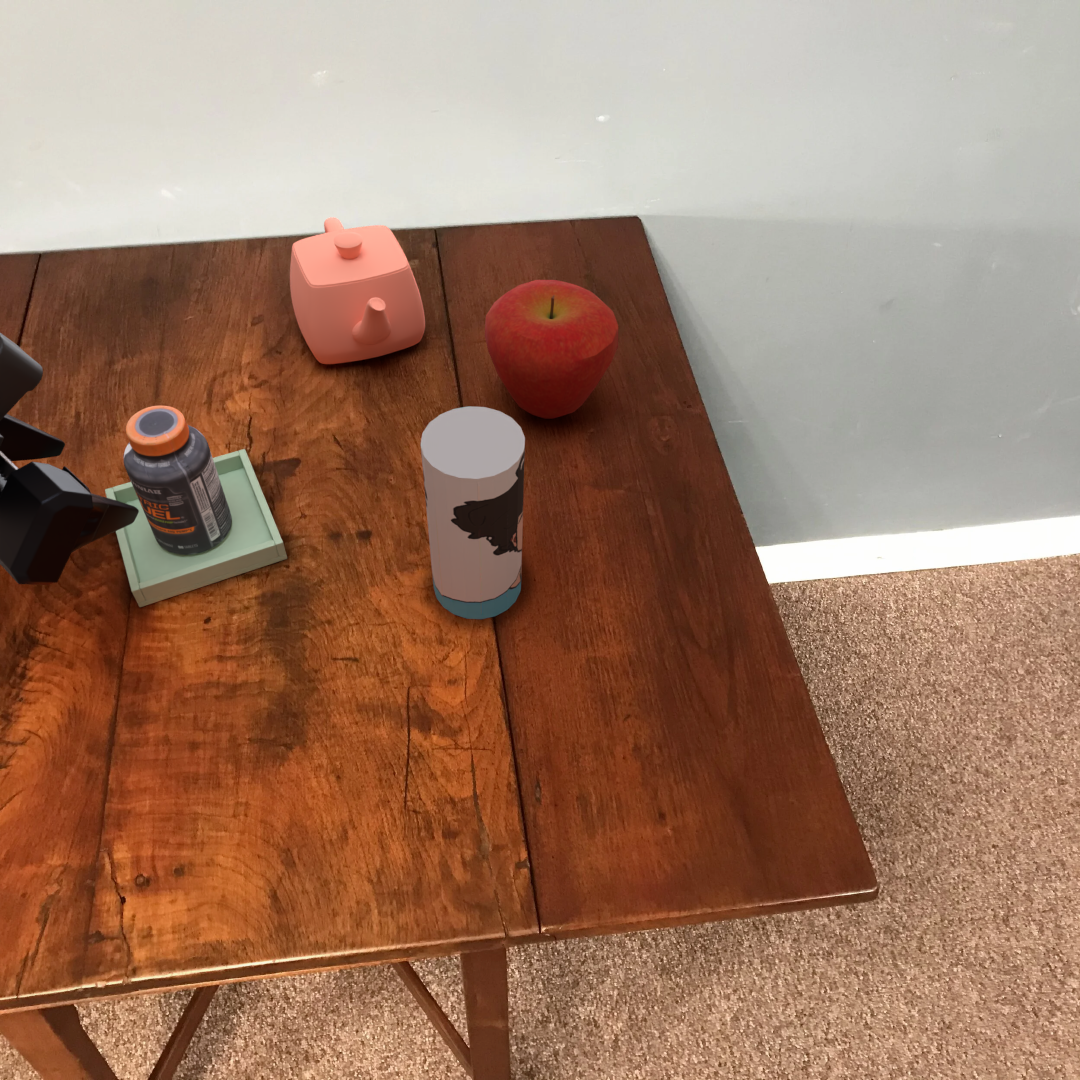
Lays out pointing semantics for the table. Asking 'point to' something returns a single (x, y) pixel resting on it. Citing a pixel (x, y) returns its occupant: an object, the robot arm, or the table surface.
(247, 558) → the dish
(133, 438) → the pill bottle
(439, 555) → the white cylindrical canister
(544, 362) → the apple
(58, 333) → the table surface
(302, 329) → the teapot
